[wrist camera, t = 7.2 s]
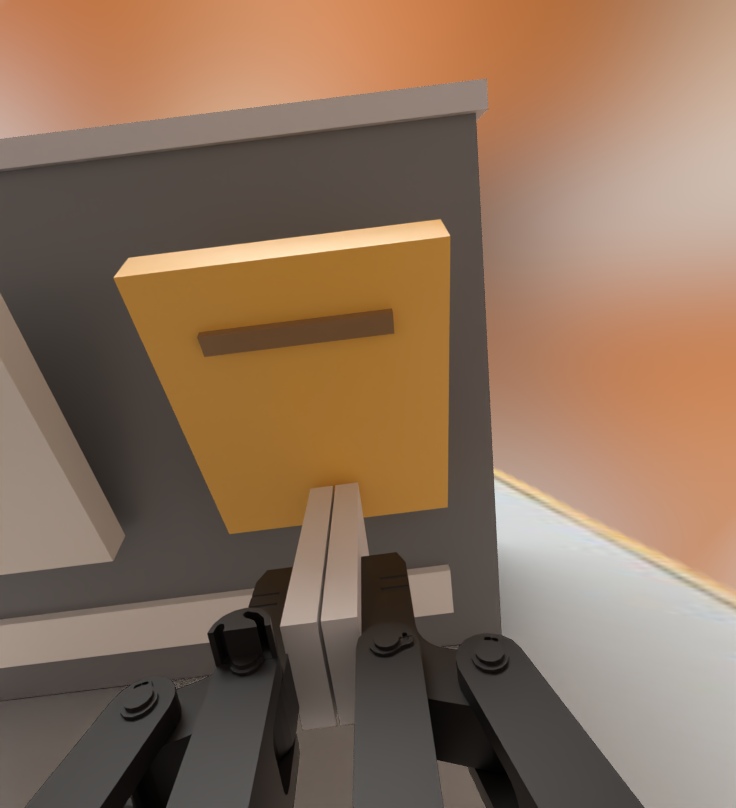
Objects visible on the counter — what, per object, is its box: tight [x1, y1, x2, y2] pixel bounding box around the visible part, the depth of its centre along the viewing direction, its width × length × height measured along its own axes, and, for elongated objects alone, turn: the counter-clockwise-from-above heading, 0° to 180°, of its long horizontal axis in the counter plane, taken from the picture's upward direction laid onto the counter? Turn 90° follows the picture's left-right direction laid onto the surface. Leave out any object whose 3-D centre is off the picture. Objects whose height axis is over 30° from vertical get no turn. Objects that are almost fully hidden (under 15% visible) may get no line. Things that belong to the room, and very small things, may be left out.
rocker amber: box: [114, 219, 450, 534], centre depth 15 cm, size 2×8×10 cm, turn 92°
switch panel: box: [0, 79, 501, 701], centre depth 22 cm, size 9×25×21 cm, turn 92°
